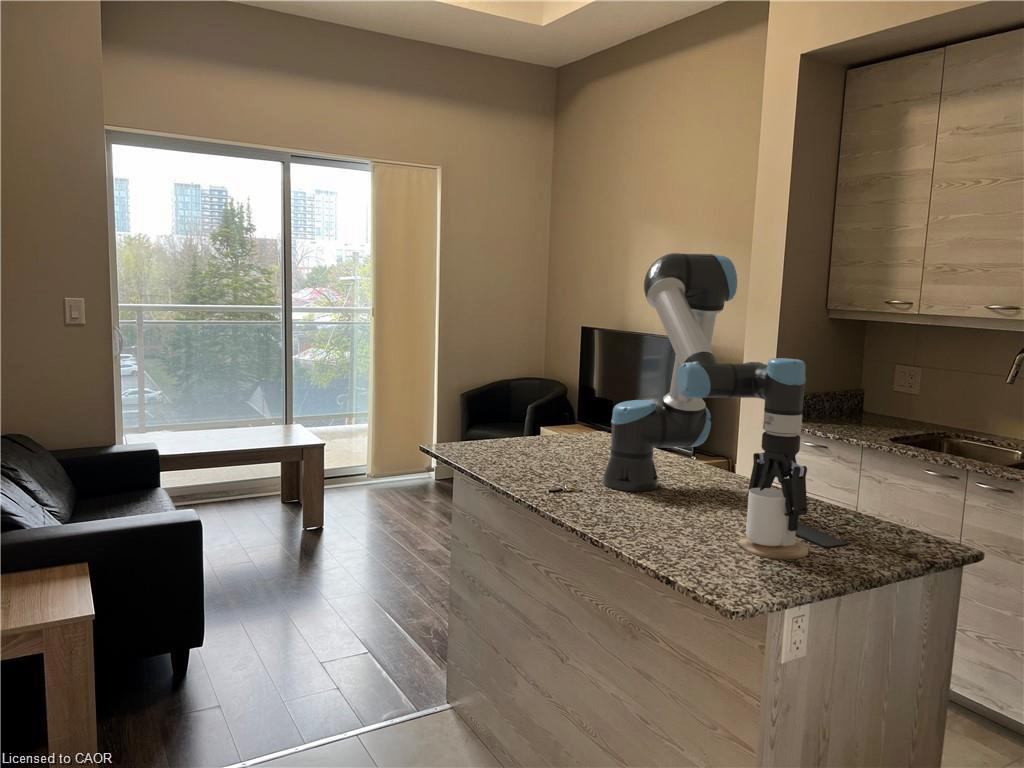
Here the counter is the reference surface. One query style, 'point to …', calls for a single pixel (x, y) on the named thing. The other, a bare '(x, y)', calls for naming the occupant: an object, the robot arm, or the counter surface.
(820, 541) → the smartphone
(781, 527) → the mug
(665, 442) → the robot arm
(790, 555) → the coaster
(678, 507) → the counter surface
